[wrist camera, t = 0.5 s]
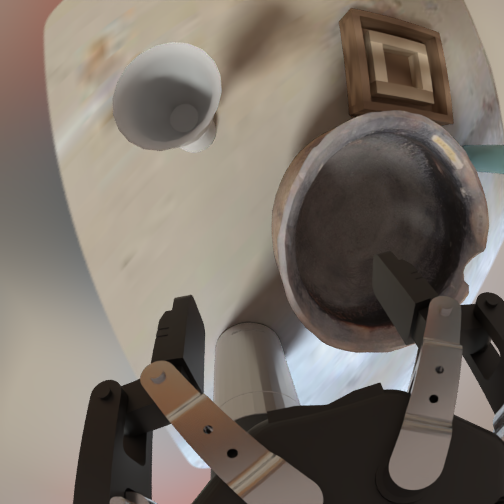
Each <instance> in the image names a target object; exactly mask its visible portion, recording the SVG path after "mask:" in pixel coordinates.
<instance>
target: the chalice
mask: <svg viewBox="0 0 504 504" xmlns="http://www.w3.org/2000/svg"><path fill="white" fill-rule="evenodd" d="M221 92H222V89H221V75H220V73H219V71H218V68H217V66H216V64H215V62H214V60H213V59H212V58H211V57H210V56H209V55H208V54H207V53H206V52H205V51H204V50H202V49H200V48H198V47H195V46H193V45H191V44H188V43H177V42H170V43H165V44H161V45H157V46H154V47H152V48H150V49H148V50H146V51H145V52H143V53H141V54H139V55H138V56H137V57H136V58H135V59H134V60H133V61H132V62H131V63H130V64H129V65H128V66H127V67H126V68H125V70H124V72H123V73H122V75H121V77H120V78H119V80H118V82H117V85H116V88H115V92H114V96H113V116H114V118H115V121H116V124H117V126H118V129H119V131H120V132H121V133H122V134H123V135H124V136H125V137H126V139H127V140H128V141H129V142H131V143H133V144H135V145H137V146H139V147H141V148H143V149H148V150H157V151H163V150H167V149H171V148H179V147H180V148H181V149H183V150H185V151H187V152H193V153H195V152H201V151H203V150H205V149H207V148H208V147H209V146H210V145H211V144H212V142H213V140H214V139H215V135H216V125H215V123H214V121H213V118H214V114H215V112H216V110H217V109H218V105H219V101H220V96H221Z"/></svg>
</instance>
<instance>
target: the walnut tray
mask: <svg viewBox="0 0 504 504" xmlns="http://www.w3.org/2000/svg"><path fill="white" fill-rule="evenodd" d="M339 26H340V32H341V39H342V47H343V54H344V63H345V72H346V82H347V92H348V105H349V115H354V116H360V115H363V114H366V113H369V112H382V111H392V110H400V111H406V112H410V113H413V114H420V115H422V116H425V117H427V118H429V119H430V120H432V121H433V122H435V123H437V124H438V125H440V126H441V125H449V124H453V113H452V103H451V95H450V87H449V81H448V74H447V68H446V63H445V58H444V53H443V48H442V43H441V39H440V34H439V32H436V31H433V30H430V29H427V28H425V27H422V26H419V25H416V24H412V23H409V22H406V21H402V20H399V19H396V18H392V17H388V16H384V15H380V14H376V13H372V12H368V11H363V10H358V9H353V8H350V10H349V11H348V12H347V13H346V14H345V15H344V17H343V18H342V19H341V20H340V21H339Z"/></svg>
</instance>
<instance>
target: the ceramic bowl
mask: <svg viewBox="0 0 504 504" xmlns="http://www.w3.org/2000/svg"><path fill="white" fill-rule="evenodd" d="M488 229H489V217H488V208H487V202H486V198H485V194H484V191H483V188H482V185H481V182H480V180H479V177H478V174H477V171H476V168H475V167H474V165H473V164H472V162H471V161H470V159H469V157H468V155H467V153H466V151H465V150H464V149H463V148H462V147H461V146H460V145H459V143H458V142H457V141H456V140H455V139H454V138H453V137H452V136H451V134H450V133H449V132H447V131H446V130H445V129H444V128H443V127H442V126H440V125H438V124H437V123H435V122H433V121H432V120H430V119H429V118H427V117H425V116H422V115H420V114H413V113H410V112H406V111H400V110H392V111H382V112H369V113H366V114H363V115H360V116H358V117H356V118H353V119H351V120H349V121H347V122H345V123H343V124H341V125H339V126H338V127H336V128H334V129H332V130H330V131H328V132H326V133H325V134H323V135H321V136H319V137H317V138H316V139H314V140H313V141H312V142H311V143H309V144H308V145H307V146H306V147H305V148H304V149H302V150H301V151H300V152H299V153H298V155H297V156H296V157H295V158H294V160H293V161H292V163H291V164H290V166H289V167H288V169H287V171H286V172H285V174H284V176H283V178H282V180H281V183H280V185H279V188H278V191H277V194H276V197H275V202H274V206H273V210H272V239H273V250H274V255H275V260H276V264H277V267H278V270H279V272H280V275H281V279H282V283H283V287H284V290H285V294H286V297H287V299H288V302H289V304H290V306H291V308H292V310H293V311H294V313H295V314H296V316H297V317H298V318H299V320H300V321H301V322H302V324H303V325H304V326H305V327H306V328H307V329H308V330H309V331H310V332H312V333H313V334H314V335H315V336H316V337H317V338H318V339H319V340H320V341H322V342H323V343H325V344H327V345H329V346H332V347H334V348H338V349H341V350H346V351H350V352H356V353H358V352H391V351H394V350H397V349H401V348H404V347H407V346H406V344H405V343H404V341H403V339H402V338H401V336H400V334H399V333H398V331H397V330H396V328H395V326H394V325H393V323H392V321H391V320H390V318H389V317H388V315H387V313H386V312H385V310H384V309H383V307H382V305H381V304H380V302H379V301H378V299H377V298H376V296H375V294H374V291H373V287H372V276H373V257H374V255H375V254H379V253H383V252H387V251H391V252H392V253H393V254H394V255H395V256H396V257H397V259H398V260H401V259H403V260H405V261H407V262H409V263H411V264H412V265H413V266H414V267H415V268H416V269H417V271H418V272H419V273H420V274H421V275H422V276H423V278H425V280H426V281H427V282H428V283H429V284H430V285H431V286H432V288H433V289H434V290H435V291H436V292H437V293H438V295H439V296H448V297H451V298H453V299H455V300H456V301H457V302H458V303H459V304H461V303H462V302H463V301H464V300H465V298H466V297H467V296H468V294H469V285H468V284H467V283H466V282H465V281H464V274H463V272H464V268H465V266H466V265H467V264H468V263H469V262H470V260H471V259H472V258H474V257H475V256H477V255H478V254H479V253H481V252H483V251H484V250H485V248H486V243H487V236H488ZM413 344H415V343H413ZM413 344H410V345H413ZM410 345H408V346H410Z"/></svg>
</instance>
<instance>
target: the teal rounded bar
mask: <svg viewBox="0 0 504 504" xmlns="http://www.w3.org/2000/svg"><path fill="white" fill-rule="evenodd" d="M462 148H463V149H464V150H465V151H466V153H467V155H468V157H469V159H470V161H471V162H472V164H473V165H474V167H475V168H476V171H478V172H489V173H500V174H504V145H464V146H462Z"/></svg>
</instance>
